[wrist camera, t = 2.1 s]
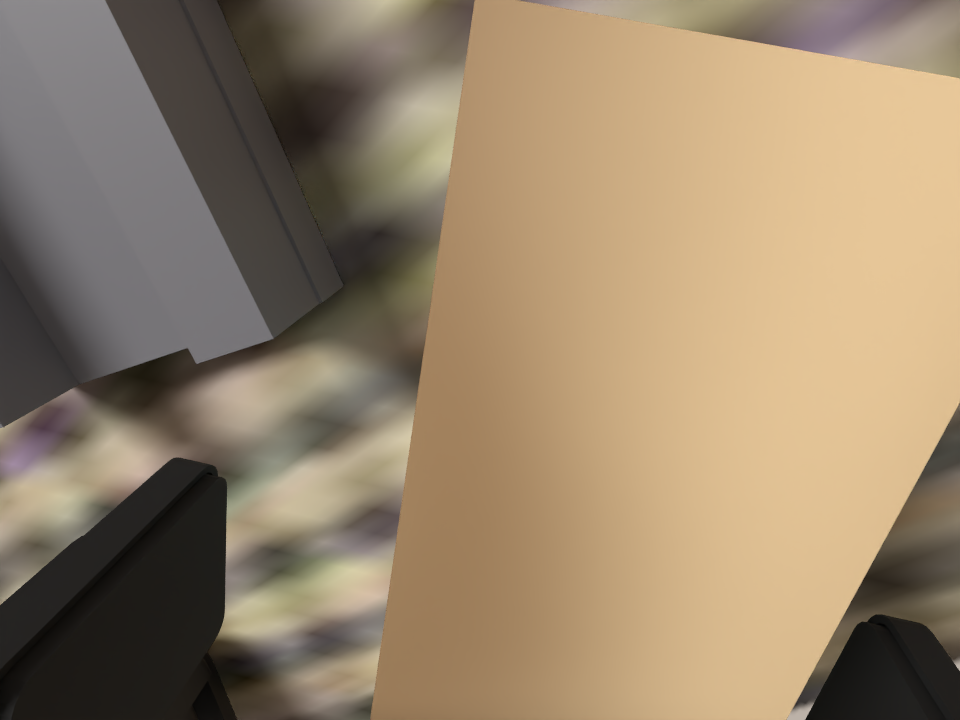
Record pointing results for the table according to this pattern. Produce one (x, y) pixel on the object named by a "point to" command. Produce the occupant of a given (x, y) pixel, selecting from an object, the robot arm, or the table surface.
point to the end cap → (202, 696)
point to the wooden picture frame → (667, 369)
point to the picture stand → (139, 196)
